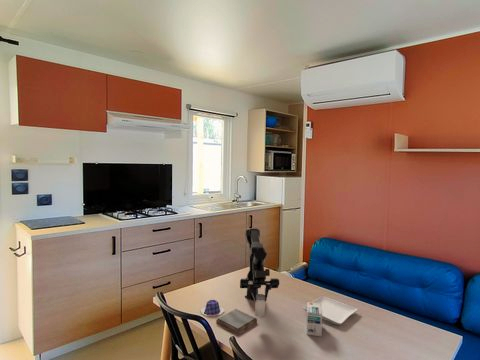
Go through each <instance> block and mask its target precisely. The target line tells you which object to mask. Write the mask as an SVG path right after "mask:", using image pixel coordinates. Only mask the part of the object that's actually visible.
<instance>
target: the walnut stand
mask: <svg viewBox="0 0 480 360" xmlns="http://www.w3.org/2000/svg"><path fill="white" fill-rule="evenodd" d="M257 323H258V318H256V316H255V317H254V316H253V315H250V314H248V313H247V312H244V311H241V310H239V309H237V308H234V309H233V310H231V311H229V312H227V313H225V314H224V315H221V316H219V317H218V318H216V319H215V324H217V325H218V326H220V327H222V328H224V329H227V330H228V331H230V332H232V333H233V334H236V335H238V336H239V335H240V334H241V333H244V331H247V330H248V329H249V328H251V327H253V326H254V325H256V324H257Z"/></svg>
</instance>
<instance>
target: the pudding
mask: <svg viewBox="0 0 480 360" xmlns="http://www.w3.org/2000/svg"><path fill="white" fill-rule="evenodd" d="M204 310H205V311H204ZM204 312H205V313H206V314H204ZM224 312H225V309H224V308H223V306H221V305H220V303H219V301H217V300H215V299H209V300H208V301H207V302H206V305H204V306H202V308H201V309H200V313H201V314H202V315H204V316H206V317H207V316H208V317H217V316H220V315H222V314H223V313H224ZM207 314H208V315H207Z"/></svg>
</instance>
